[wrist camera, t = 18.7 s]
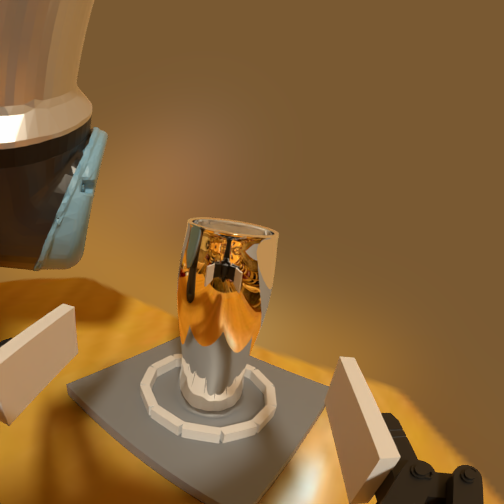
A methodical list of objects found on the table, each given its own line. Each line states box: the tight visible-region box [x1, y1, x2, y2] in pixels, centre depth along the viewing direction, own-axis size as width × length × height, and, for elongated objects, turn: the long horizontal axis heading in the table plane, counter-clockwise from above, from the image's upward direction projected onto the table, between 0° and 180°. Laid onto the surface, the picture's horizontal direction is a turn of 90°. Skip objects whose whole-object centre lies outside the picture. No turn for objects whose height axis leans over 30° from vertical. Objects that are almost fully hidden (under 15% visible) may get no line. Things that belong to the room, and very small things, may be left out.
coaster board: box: [66, 336, 329, 504], centre depth 26 cm, size 18×18×2 cm
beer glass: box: [175, 218, 279, 418], centre depth 24 cm, size 7×7×15 cm
